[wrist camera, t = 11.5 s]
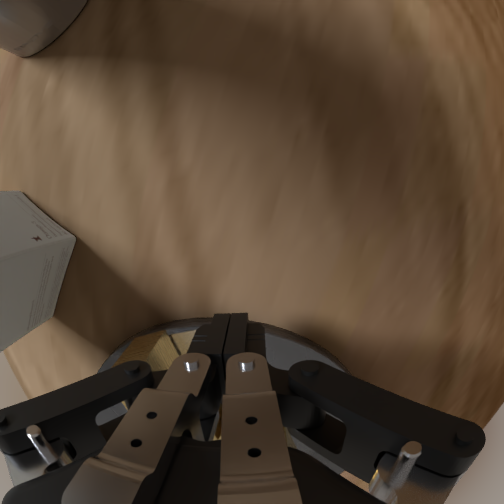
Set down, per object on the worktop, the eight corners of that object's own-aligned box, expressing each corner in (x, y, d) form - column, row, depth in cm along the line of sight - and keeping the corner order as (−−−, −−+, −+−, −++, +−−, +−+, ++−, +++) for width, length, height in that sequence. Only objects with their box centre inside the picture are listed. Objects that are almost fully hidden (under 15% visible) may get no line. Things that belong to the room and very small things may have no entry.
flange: (56, 340, 18) (4, 383, 11) (349, 278, 16) (402, 329, 9) (165, 495, 22) (153, 540, 15) (363, 472, 20) (379, 522, 13)
